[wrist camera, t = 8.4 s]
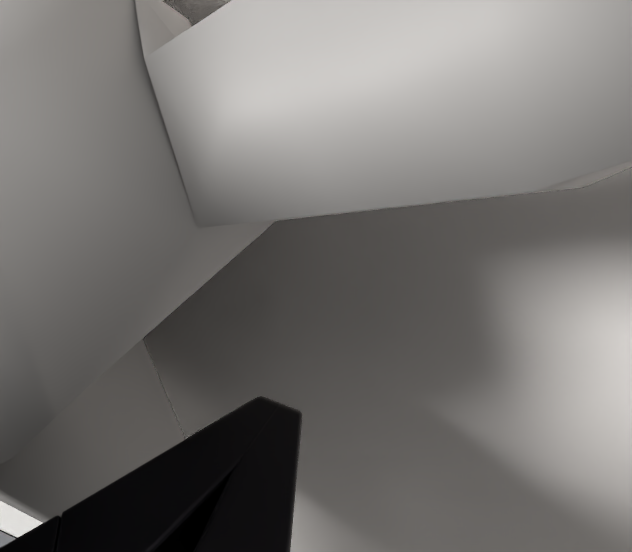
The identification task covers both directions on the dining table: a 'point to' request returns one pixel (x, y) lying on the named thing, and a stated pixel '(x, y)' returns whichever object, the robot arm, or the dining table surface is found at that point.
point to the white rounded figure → (246, 172)
